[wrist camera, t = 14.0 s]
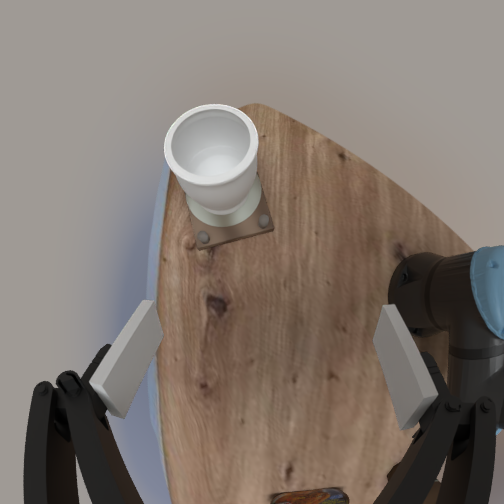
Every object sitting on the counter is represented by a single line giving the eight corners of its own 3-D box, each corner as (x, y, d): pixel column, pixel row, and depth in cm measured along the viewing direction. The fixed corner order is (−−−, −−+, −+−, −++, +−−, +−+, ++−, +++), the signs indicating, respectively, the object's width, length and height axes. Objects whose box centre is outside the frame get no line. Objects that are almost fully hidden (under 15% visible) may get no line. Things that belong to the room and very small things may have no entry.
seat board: (250, 155, 45) (250, 140, 40) (273, 231, 43) (276, 223, 38) (182, 172, 44) (175, 159, 40) (199, 250, 43) (193, 245, 38)
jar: (182, 173, 42) (155, 121, 27) (241, 152, 43) (239, 93, 28) (201, 232, 41) (176, 199, 26) (265, 208, 41) (274, 164, 27)
